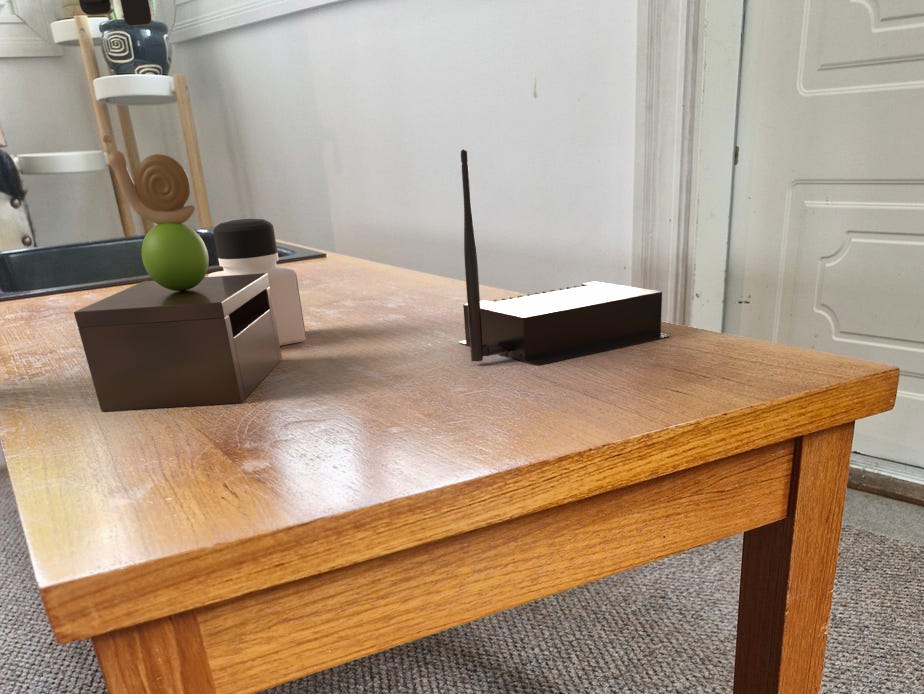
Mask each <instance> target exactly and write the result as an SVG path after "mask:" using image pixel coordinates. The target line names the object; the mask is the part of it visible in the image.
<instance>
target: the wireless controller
mask: <svg viewBox="0 0 924 694" xmlns="http://www.w3.org/2000/svg"><path fill="white" fill-rule="evenodd" d="M460 163H461V165H460V166H461V179H462V191H463V192H462V195H463V218H464V219H463V222H464V223H463V255H464V256H463V258H464V273H465V288H466V303H463V305H462V306H463V307H462V308H463V320H464V321H463V322H464V334H465V340H460V341H459V344H461V345H465V346H468V347H470V360H471V362H482V361H483V359H484V357H490V356H496V355H499V356H503V357H506V358H509V359H512V360H516V361H520V362H523V363H527V364H531V365H534V366H542V365H545V364H550V363H556V362H560V361H565V360H569V359H574V358H578V357H583V356H588V355H592V354H596V353H597V354H598V353H601V352H606V351H610V350H615V349H621V348H624V347H630V346H634V345H638V344H643V343H648V342H652V341H657V340H662V339H666V338H670V337H671V336H672V335H671V334H668V333H664V332H662V307H663V305H662V304H663V291H661V290H654V289H647V288H641V287H635V286H628V285H621V284H615V283H607V282H602V281H595V280H593V281H589V282H584V283H581V285H580V286H578V285H573V287H568V286H567V287H566V289H565V288H559V289H558V290H557V289H550V290H549V291H542V293H539V292H534V294H530V293H528V294H526V296H525V295H517V296H516V297H511V296H510V297H509V299H507V298H501V300H497V299H493V301H490V300H486V299H485V300H481V298H480V297H481V296H480V281H479V279H480V278H479V263H478V262H479V261H478V254H477V253H478V251H477V244H476V237H475V229H474V227H475V226H474V220H473V219H474V218H473V212H472V203H471V200H472V199H471V187H470V173H469V172H470V171H469V164H468V163H469V155H468V150H467V149H463V148H462V149H461V151H460Z"/></svg>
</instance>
